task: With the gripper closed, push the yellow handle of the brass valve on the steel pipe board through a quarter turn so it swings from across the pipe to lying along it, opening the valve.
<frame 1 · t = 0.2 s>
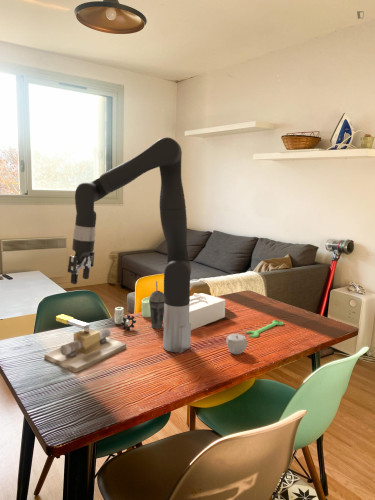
hand: (79, 281, 138), 23 cm above the table, tool pointing down, fingers open, 8 cm apart
wrench: (265, 330, 161), on the table
valve: (122, 326, 159), on the table
apple: (235, 353, 137), on the table
valve lever: (73, 323, 134), point 9 cm above the table, hinge at 0.0°
candle: (146, 316, 172), on the table
pipe board: (86, 352, 132), on the table
beverage cup: (156, 327, 159), on the table
tissue box: (195, 320, 169), on the table
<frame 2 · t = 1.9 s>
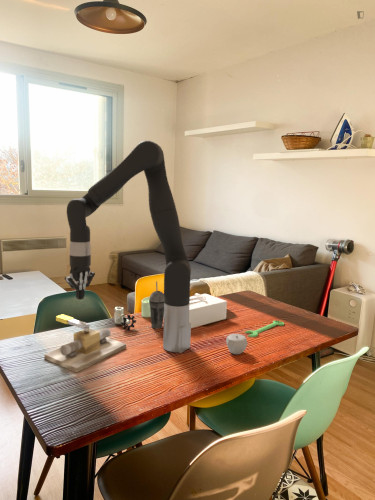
hand: (80, 298, 140), 16 cm above the table, tool pointing down, fingers closed
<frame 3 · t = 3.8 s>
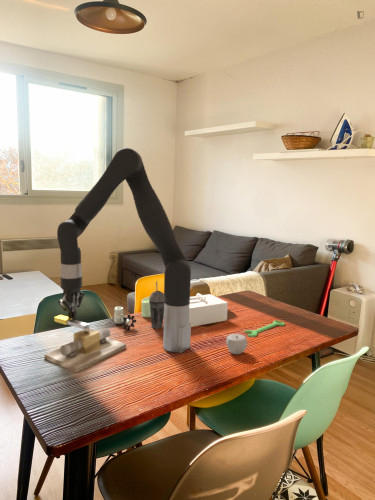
hand: (72, 320, 138), 9 cm above the table, tool pointing down, fingers closed
valve lever: (72, 324, 134), point 9 cm above the table, hinge at 3.4°, touching gripper
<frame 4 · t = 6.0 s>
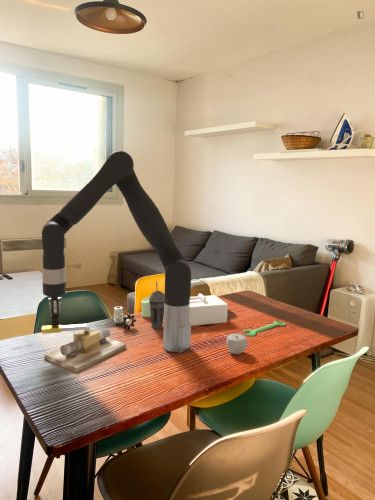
hand: (55, 328, 130), 9 cm above the table, tool pointing down, fingers closed
valve lever: (66, 329, 128), point 9 cm above the table, hinge at 50.6°, touching gripper
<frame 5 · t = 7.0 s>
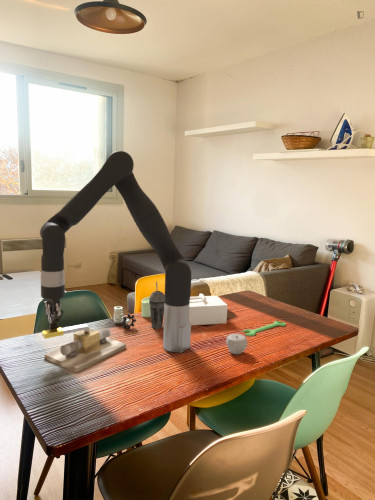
hand: (53, 332, 127), 9 cm above the table, tool pointing down, fingers closed
valve lever: (67, 331, 126), point 9 cm above the table, hinge at 69.0°, touching gripper
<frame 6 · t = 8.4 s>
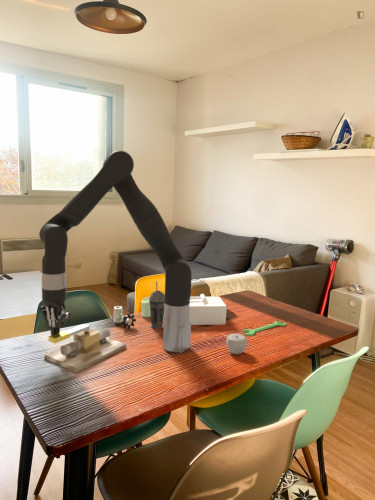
hand: (55, 336, 123), 9 cm above the table, tool pointing down, fingers closed
valve lever: (71, 334, 125), point 9 cm above the table, hinge at 90.5°
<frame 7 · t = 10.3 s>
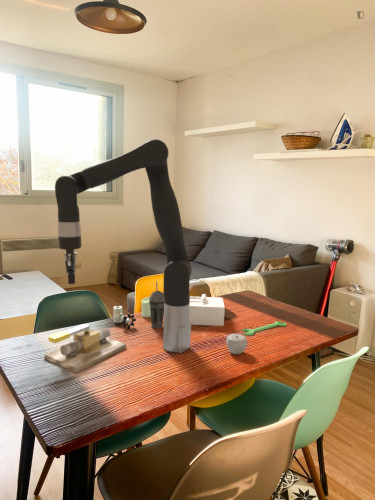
hand: (71, 283, 132), 24 cm above the table, tool pointing down, fingers closed
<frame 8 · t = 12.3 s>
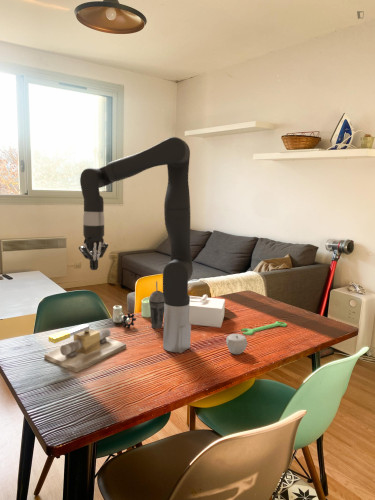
hand: (94, 269, 141), 27 cm above the table, tool pointing down, fingers closed
at the end: valve lever at +90° (first picture: +0°); valve moved 2.2 cm from its start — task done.
